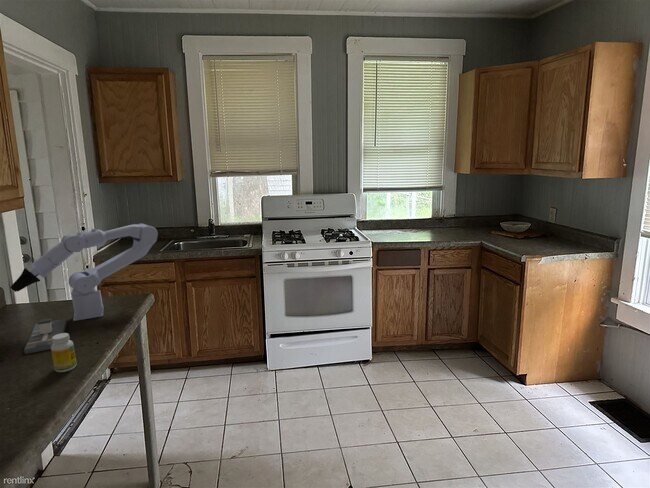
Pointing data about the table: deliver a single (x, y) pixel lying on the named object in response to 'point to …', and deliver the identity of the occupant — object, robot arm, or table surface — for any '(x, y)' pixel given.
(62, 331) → the console
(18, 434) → the table surface
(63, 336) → the supplement bottle
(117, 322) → the table surface
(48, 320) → the fader tab
